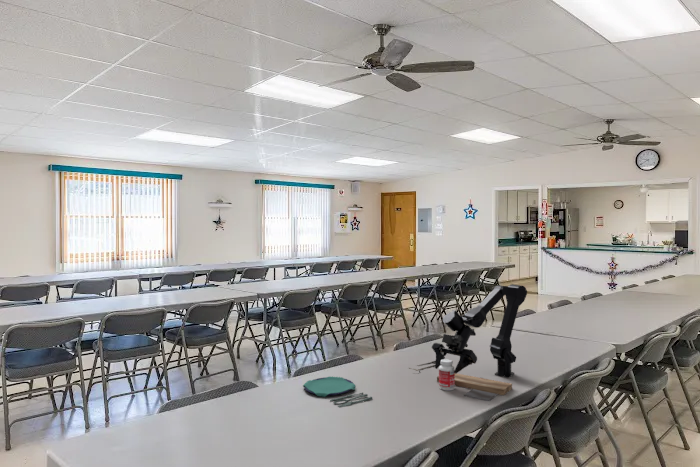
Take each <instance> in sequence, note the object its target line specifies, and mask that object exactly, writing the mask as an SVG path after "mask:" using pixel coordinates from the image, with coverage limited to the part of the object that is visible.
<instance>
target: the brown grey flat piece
mask: <svg viewBox="0 0 700 467" xmlns="http://www.w3.org/2000/svg"><path fill="white" fill-rule="evenodd" d="M436 383H439V375H438V376H437V377H436ZM455 387H460V388H461V387H462V388H467V389H470V390H469V391H467V392H465V393H464V394H463V396H464V397H468V398H472V399H478V400H481V401H482V400H483V401H487V402H490V401H491V400H493V399H494V398H496V397H497V396H498V395H500V396H505V395H506V394H508V392H510V391H511V390H513V383H510V382H505V381H504V382H503V381H500V380H499V381H498V380H494V379H488V378H483V377H478V376H472V375H468V374H462V373H457V374H455Z"/></svg>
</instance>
